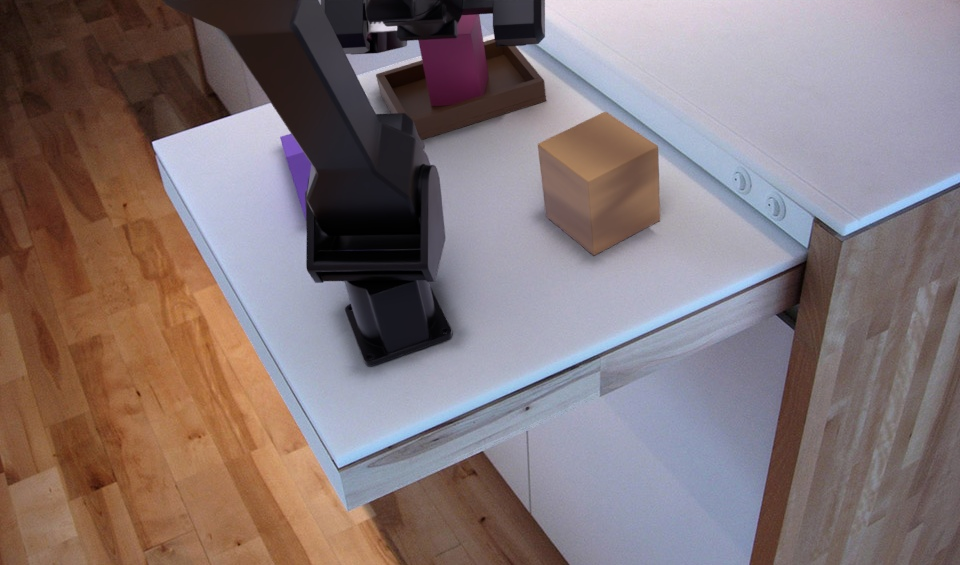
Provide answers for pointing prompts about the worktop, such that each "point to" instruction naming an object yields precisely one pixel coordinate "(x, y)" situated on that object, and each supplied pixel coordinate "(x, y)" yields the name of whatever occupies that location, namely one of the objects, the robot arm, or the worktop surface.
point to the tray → (504, 93)
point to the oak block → (600, 182)
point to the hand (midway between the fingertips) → (453, 37)
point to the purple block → (297, 166)
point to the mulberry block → (456, 64)
